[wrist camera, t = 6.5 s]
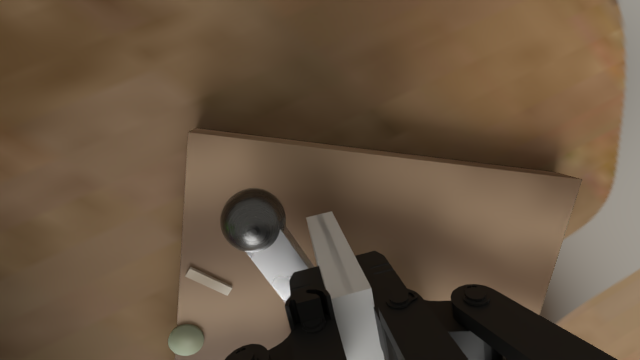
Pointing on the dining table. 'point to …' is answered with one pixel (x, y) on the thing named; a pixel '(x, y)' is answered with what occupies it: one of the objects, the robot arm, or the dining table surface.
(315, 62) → the dining table surface
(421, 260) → the board
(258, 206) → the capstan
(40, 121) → the dining table surface
